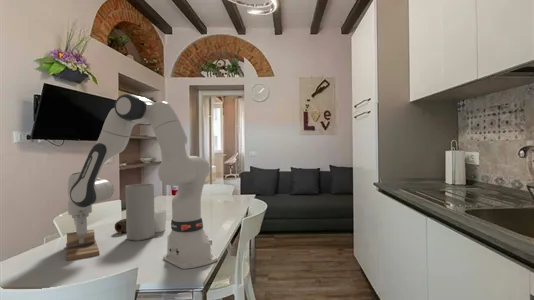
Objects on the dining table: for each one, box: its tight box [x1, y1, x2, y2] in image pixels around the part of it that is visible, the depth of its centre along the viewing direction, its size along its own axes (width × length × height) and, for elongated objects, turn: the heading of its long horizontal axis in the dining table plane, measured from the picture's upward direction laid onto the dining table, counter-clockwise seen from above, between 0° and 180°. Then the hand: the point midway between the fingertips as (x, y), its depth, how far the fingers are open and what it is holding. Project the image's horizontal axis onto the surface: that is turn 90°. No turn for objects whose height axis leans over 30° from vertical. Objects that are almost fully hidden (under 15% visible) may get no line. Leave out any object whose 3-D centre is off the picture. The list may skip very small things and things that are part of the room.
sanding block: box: [66, 228, 96, 248], centre depth 131 cm, size 5×10×5 cm, turn 124°
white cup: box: [154, 209, 167, 233], centre depth 157 cm, size 8×8×10 cm
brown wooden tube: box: [114, 218, 127, 234], centre depth 159 cm, size 15×7×7 cm, turn 167°
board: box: [65, 240, 100, 262], centre depth 127 cm, size 21×11×2 cm, turn 34°
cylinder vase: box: [125, 183, 156, 241], centre depth 146 cm, size 12×12×25 cm
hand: (81, 241), depth 131 cm, fingers closed on sanding block, 5 cm apart
